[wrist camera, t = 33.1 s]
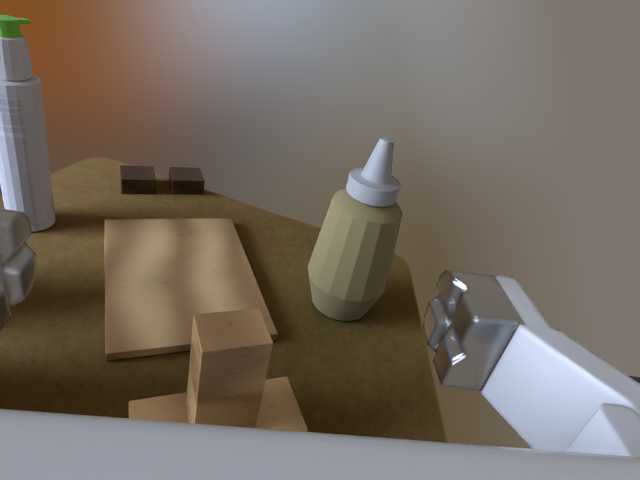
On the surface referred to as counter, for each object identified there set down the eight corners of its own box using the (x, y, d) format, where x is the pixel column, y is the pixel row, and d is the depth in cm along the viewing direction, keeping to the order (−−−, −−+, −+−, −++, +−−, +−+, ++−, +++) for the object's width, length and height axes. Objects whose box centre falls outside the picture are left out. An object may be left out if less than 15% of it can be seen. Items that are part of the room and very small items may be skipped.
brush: (281, 401, 36) (307, 293, 30) (301, 460, 32) (336, 348, 27) (128, 429, 32) (126, 307, 26) (132, 501, 28) (130, 376, 22)
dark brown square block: (198, 180, 64) (199, 167, 63) (203, 194, 61) (204, 181, 60) (168, 180, 63) (169, 166, 62) (172, 194, 60) (172, 180, 59)
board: (230, 223, 57) (231, 217, 56) (276, 340, 42) (278, 333, 41) (104, 225, 51) (104, 219, 51) (105, 361, 36) (105, 354, 35)
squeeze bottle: (285, 304, 46) (323, 132, 37) (323, 270, 52) (363, 116, 43) (357, 343, 43) (417, 168, 34) (387, 301, 50) (445, 145, 41)
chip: (153, 179, 62) (153, 166, 61) (155, 194, 59) (155, 180, 58) (120, 179, 60) (120, 165, 59) (121, 193, 57) (121, 179, 56)
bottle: (58, 229, 49) (36, 26, 38) (9, 235, 46) (-29, 20, 36) (52, 209, 51) (30, 15, 41) (5, 213, 49) (-31, 8, 39)
